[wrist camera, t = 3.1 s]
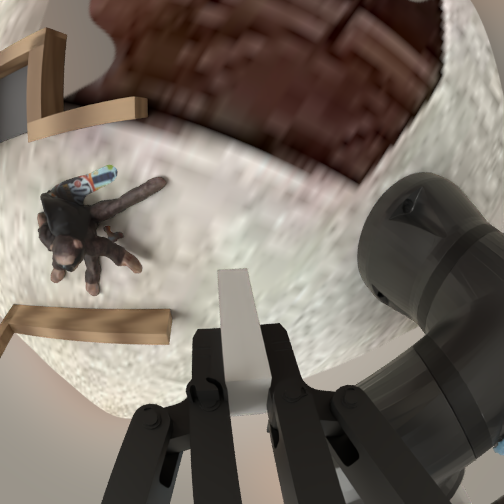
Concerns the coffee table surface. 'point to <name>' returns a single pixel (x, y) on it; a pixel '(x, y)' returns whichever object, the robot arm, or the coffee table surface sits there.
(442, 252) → the robot arm
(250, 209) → the coffee table surface
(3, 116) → the mat
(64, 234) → the stuffed animal
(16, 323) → the wooden rail pieces
